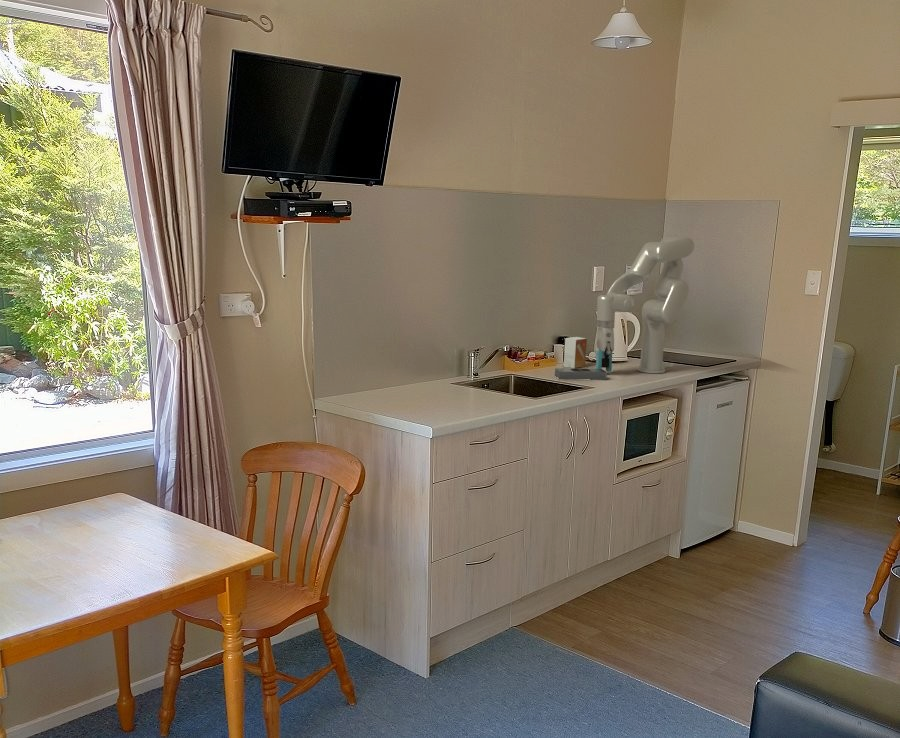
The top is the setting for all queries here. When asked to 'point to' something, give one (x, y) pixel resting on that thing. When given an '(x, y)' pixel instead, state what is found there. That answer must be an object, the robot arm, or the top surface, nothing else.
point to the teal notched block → (599, 361)
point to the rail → (580, 373)
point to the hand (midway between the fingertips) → (603, 366)
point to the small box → (575, 352)
